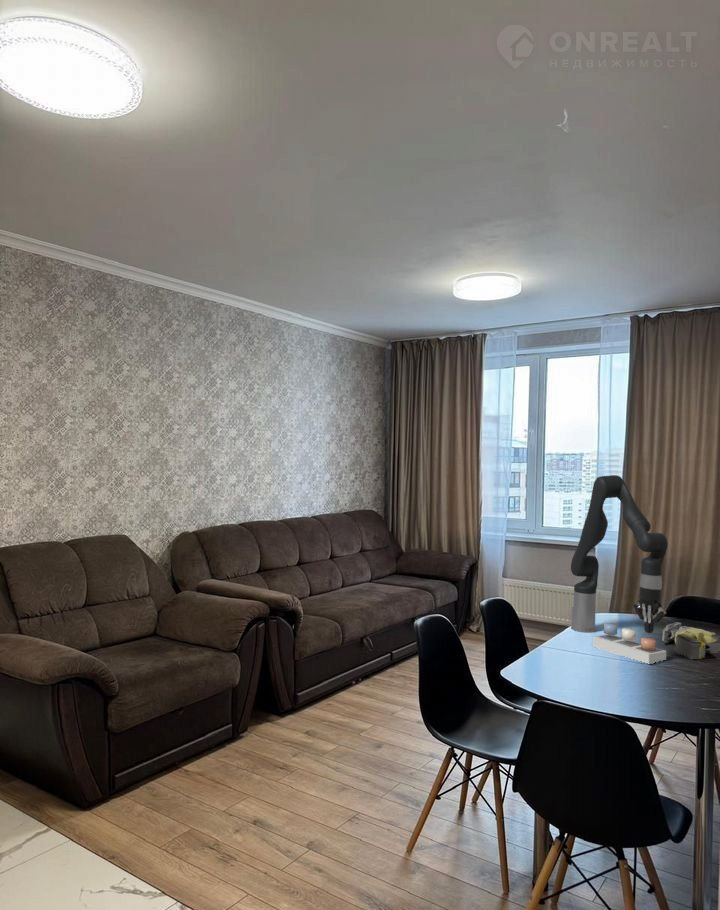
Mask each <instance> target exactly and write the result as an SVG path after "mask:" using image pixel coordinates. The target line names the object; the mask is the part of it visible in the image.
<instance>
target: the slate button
mask: <svg viewBox="0 0 720 910" xmlns="http://www.w3.org/2000/svg"><path fill="white" fill-rule="evenodd" d="M603 633H604V635H607V634H608V635H615V636H618V624H616V623H613V622H605V623H604V624H603Z"/></svg>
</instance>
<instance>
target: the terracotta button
mask: <svg viewBox="0 0 720 910" xmlns="http://www.w3.org/2000/svg"><path fill="white" fill-rule="evenodd" d="M640 639H641V640H640V643H641V649H643V650H647V651H655V650H656V648H657V647H656V646H657V639H655V638H651V637H650V638H649V637H641V638H640Z"/></svg>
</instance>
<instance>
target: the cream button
mask: <svg viewBox="0 0 720 910" xmlns="http://www.w3.org/2000/svg"><path fill="white" fill-rule="evenodd" d="M621 637H622V639H624V640H628V641H635V642H636V641H637V630H636V629H634V628H629V627H623V628H621Z"/></svg>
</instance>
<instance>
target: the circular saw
mask: <svg viewBox="0 0 720 910" xmlns="http://www.w3.org/2000/svg"><path fill="white" fill-rule="evenodd" d="M673 640H674V644H675V648H674V651H675V653H676V652H677V653H676V654H678V653H679V654H678V655H680V654H681V656H682V655H684V656H685V658H686V657H688V658H687V659H689V658H690V659H689V660H691V659H703V658H704V659H705V657H706V653H716V652H720V635H718V634H717V633H715V632H711V631H708V630H704V629H703V628H697V627H696V628H695V627H691V626H686V625H684V626H682V622H678V621H676V622H673V623H669V624H666V625H665V627H664V628H663V630H662V636H661V641H662V642H663V643H664V644H665V643H666V645H668V644H670V643H671V642H672V641H673ZM670 641H671V642H670ZM684 656H683V657H684Z"/></svg>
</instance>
